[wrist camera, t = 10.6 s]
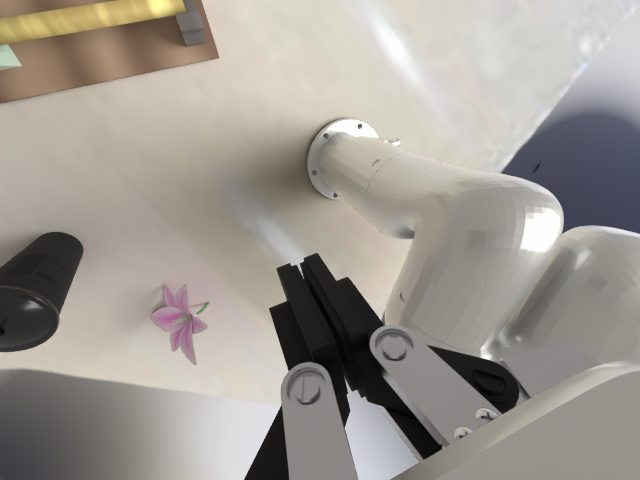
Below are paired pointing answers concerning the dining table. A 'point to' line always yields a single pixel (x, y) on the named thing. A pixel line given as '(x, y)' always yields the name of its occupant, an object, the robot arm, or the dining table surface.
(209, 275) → the dining table surface
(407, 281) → the robot arm
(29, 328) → the drinking cup
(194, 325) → the lily
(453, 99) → the dining table surface
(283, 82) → the dining table surface
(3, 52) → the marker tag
